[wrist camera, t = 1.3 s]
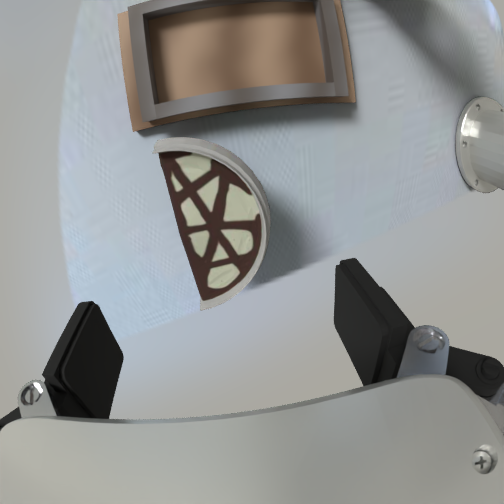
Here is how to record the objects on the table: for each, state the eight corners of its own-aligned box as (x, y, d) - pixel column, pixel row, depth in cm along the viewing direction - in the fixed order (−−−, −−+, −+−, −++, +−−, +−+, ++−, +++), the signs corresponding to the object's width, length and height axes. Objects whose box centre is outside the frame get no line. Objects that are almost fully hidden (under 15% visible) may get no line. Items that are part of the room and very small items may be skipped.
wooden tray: (333, -8, 18) (345, -18, 16) (351, 102, 24) (365, 102, 21) (120, 17, 18) (110, 8, 15) (136, 131, 23) (126, 133, 21)
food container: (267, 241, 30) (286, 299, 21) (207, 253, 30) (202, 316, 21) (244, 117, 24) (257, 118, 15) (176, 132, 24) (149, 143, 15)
